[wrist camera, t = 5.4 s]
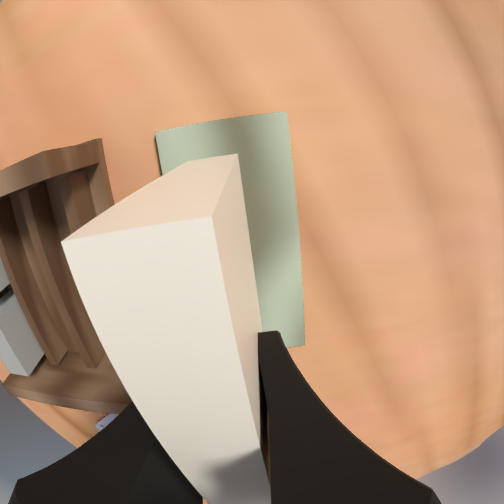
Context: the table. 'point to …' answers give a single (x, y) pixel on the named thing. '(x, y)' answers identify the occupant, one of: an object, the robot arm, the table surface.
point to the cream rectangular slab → (184, 321)
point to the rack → (100, 199)
